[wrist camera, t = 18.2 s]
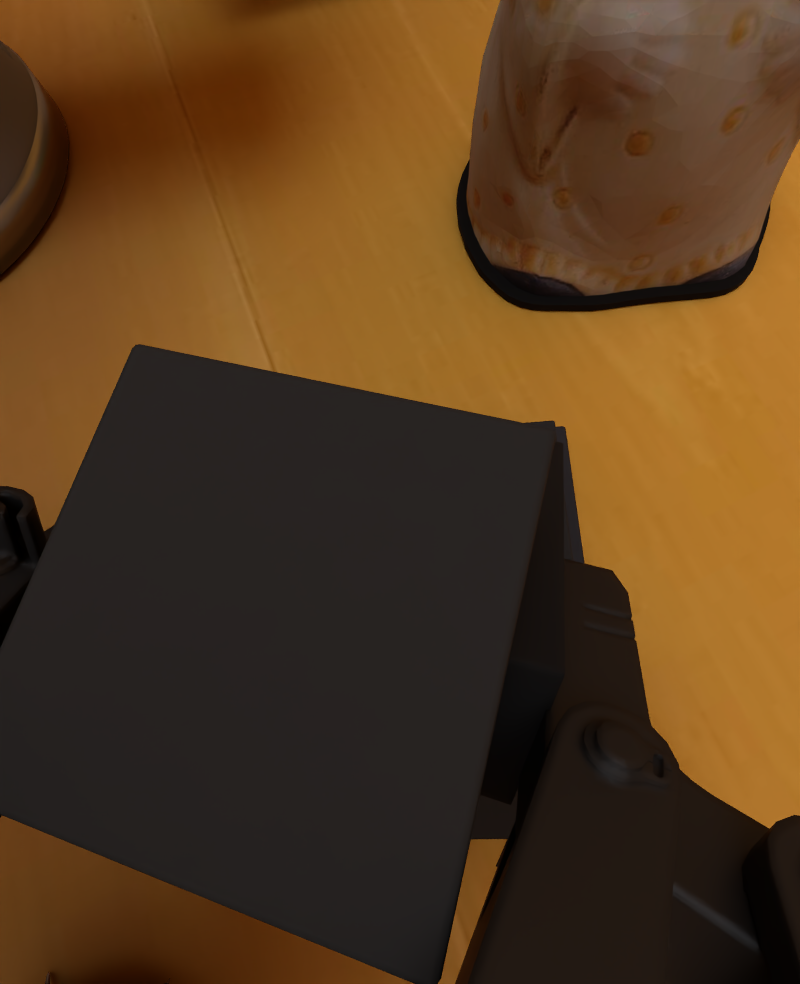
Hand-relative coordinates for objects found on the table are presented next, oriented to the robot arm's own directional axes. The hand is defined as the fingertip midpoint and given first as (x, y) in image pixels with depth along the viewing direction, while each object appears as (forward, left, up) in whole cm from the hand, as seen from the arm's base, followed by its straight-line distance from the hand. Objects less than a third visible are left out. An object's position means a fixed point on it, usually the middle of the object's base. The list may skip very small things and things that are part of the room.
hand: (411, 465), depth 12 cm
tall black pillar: (+4, -1, -3) cm, 5 cm away
